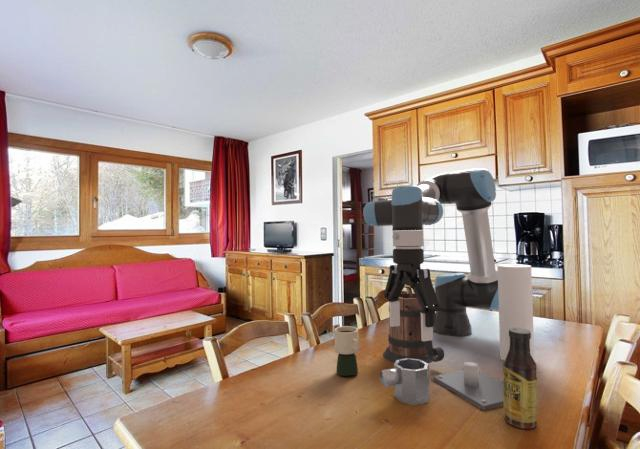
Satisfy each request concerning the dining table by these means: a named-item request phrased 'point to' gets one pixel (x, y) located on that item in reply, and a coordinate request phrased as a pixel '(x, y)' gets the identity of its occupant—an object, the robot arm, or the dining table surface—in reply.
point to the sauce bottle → (520, 381)
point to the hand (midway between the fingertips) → (409, 332)
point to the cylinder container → (514, 303)
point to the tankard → (410, 334)
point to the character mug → (346, 349)
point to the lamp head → (408, 380)
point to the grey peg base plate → (473, 386)
